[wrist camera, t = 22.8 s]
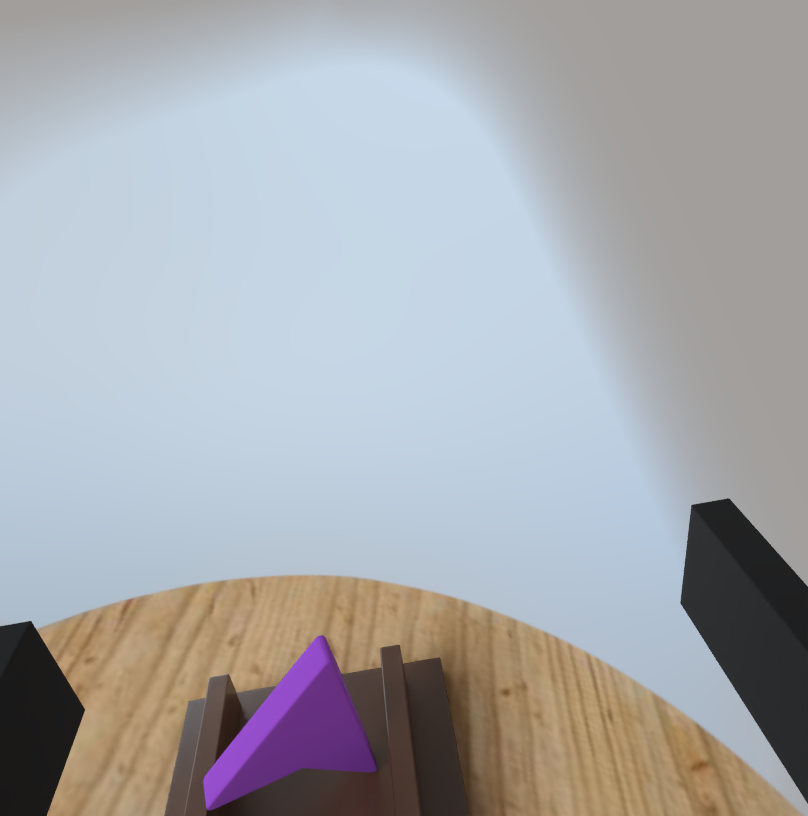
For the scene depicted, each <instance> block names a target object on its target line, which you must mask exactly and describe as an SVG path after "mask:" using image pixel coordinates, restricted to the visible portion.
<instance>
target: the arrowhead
mask: <svg viewBox="0 0 808 816" xmlns="http://www.w3.org/2000/svg"><path fill="white" fill-rule="evenodd" d="M302 768H309V769H324V770H339V771H355V772H375V771H377V769H378V767H377V763H376V760H375V757H374V754H373V751H372V748H371V745H370V743H369V740H368V737H367V735H366V732H365V730H364V727H363V725H362V723H361V720H360V718H359V715H358V713H357V710H356V708H355V706H354V703H353V701H352V698H351V696H350V694H349V691H348V689H347V686H346V684H345V682H344V679H343V677H342V674H341V672H340V670H339V667H338V665H337V663H336V660H335V658H334V656H333V653H332V651H331V649H330V646H329V644H328V642H327V640H326V638H325V636H322V635H321V636H318V637H317V638H316V639H315V640H314V641H313V642H312V643H311V645H310V646H309V647H308V648H307V649H306V651H305V652H304V653H303V654H302V656H301V657H300V658H299V659H298V661H297V662H296V663H295V664H294V665H293V667H292V668H291V669H290V670H289V672H288V673H287V674H286V675H285V677H284V678H283V679H282V680H281V682H280V683H279V684H278V685H277V687H276V688H275V689H274V690H273V692H272V693H271V694H270V695H269V696H268V698H267V699H266V700H265V701H264V703H263V704H262V705H261V706H260V708H259V709H258V710H257V711H256V713H255V714H254V715H253V716H252V718H251V719H250V720H249V721H248V723H247V724H246V725H245V726H244V728H243V729H242V730H241V731H240V733H239V734H238V735H237V736H236V738H235V739H234V740H233V741H232V743H231V744H230V745H229V746H228V748H227V749H226V750H225V751H224V753H223V754H222V755H221V756H220V758H219V759H218V760H217V761H216V763H215V764H214V765H213V767H212V768H211V769H210V770H209V772H208V773H207V774H206V776H205V777H204V781H203V782H204V792H205V801H206V808H207V810H213V809H216V808H218V807H220V806H222V805H225V804H227V803H229V802H231V801H233V800H235V799H238V798H240V797H242V796H244V795H246V794H248V793H250V792H253V791H255V790H257V789H259V788H261V787H263V786H265V785H268V784H270V783H272V782H274V781H276V780H278V779H280V778H283V777H285V776H287V775H289V774H291V773H293V772H295V771H298V770H300V769H302Z"/></svg>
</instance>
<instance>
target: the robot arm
mask: <svg viewBox="0 0 808 816" xmlns="http://www.w3.org/2000/svg"><path fill="white" fill-rule="evenodd" d="M681 605H682V606H683V608H684V609H685V611H686V613H687V614H688V616H689V617H690V619H691V620H692V622H693V623H694V625H695V626H696V628H697V630H698V631H699V633H700V635H701V636H702V638H703V639H704V641H705V642H706V644H707V645H708V647H709V649H710V650H711V652H712V654H713V655H714V657H715V658H716V660H717V661H718V663H719V665H720V666H721V668H722V669H723V671H724V672H725V674H726V675H727V677H728V679H729V680H730V682H731V683H732V685H733V687H734V688H735V690H736V691H737V693H738V694H739V696H740V698H741V699H742V701H743V702H744V704H745V705H746V707H747V709H748V710H749V712H750V713H751V715H752V716H753V718H754V720H755V721H756V723H757V724H758V726H759V727H760V729H761V731H762V732H763V734H764V735H765V737H766V739H767V740H768V741H769V743H770V745H771V746H772V748H773V749H774V751H775V753H776V754H777V756H778V757H779V759H780V760H781V762H782V764H783V765H784V767H785V768H786V770H787V771H788V773H789V775H790V776H791V778H792V779H793V781H794V782H795V784H796V786H797V787H798V789H799V790H800V792H801V793H802V795H803V797H804V798H805V800H806V801H807V803H808V587H807V585H806V584H805V583H804V582H803V581H802V580H801V579H800V577H798V575H797V574H796V573H795V572H794V571H793V570H792V569H791V567H790V566H789V565H788V564H787V563H786V562H785V561H784V560H783V558H782V557H781V556H780V555H779V554H778V553H777V552H776V551H775V550H774V548H773V547H772V546H771V545H770V544H769V543H768V542H767V540H766V539H765V538H764V537H763V536H762V535H761V534H760V533H759V531H758V530H757V529H756V528H755V527H754V526H753V525H752V524H751V523H750V521H749V520H748V519H747V518H746V517H745V516H744V515H743V514H742V512H741V511H740V510H739V509H738V508H737V507H736V506H735V505H734V503H733V502H732V501H731V500H730V499H724V500H717V501H712V502H706V503H700V504H695V505H692V506H691V515H690V523H689V532H688V541H687V550H686V559H685V567H684V577H683V585H682V594H681ZM84 712H85V709H84V707H83V706H82V704H81V702H80V701H79V699H78V697H77V696H76V694H75V692H74V691H73V689H72V687H71V686H70V684H69V683H68V681H67V679H66V678H65V676H64V674H63V673H62V671H61V669H60V668H59V666H58V665H57V663H56V661H55V660H54V658H53V656H52V655H51V653H50V651H49V650H48V648H47V646H46V645H45V643H44V642H43V640H42V638H41V637H40V635H39V633H38V632H37V630H36V628H35V627H34V625H33V624H32V622H31V621H28V622H23V623H17V624H12V625H6V626H0V816H47V813H48V810H49V808H50V805H51V802H52V799H53V797H54V794H55V791H56V788H57V786H58V783H59V780H60V777H61V775H62V772H63V769H64V766H65V764H66V761H67V758H68V755H69V753H70V750H71V747H72V744H73V742H74V739H75V736H76V734H77V731H78V728H79V725H80V723H81V720H82V717H83V714H84Z"/></svg>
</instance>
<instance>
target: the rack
mask: <svg viewBox="0 0 808 816" xmlns="http://www.w3.org/2000/svg"><path fill="white" fill-rule="evenodd" d="M380 654H381V666H382V668H376V669H370V670H365V671H359V672H353V673H347V674H342V677H343V679H344V682H345V684H346V686H347V689H348V691H349V694H350V696H351V698H352V701H353V703H354V706H355V708H356V710H357V713H358V715H359V718H360V720H361V723H362V725H363V727H364V730H365V732H366V735H367V737H368V740H369V743H370V745H371V748H372V751H373V754H374V757H375V760H376V763H377V767H378V769H377V771H375V772H355V771H339V770H324V769H309V768H302V769H300V770H298V771H295V772H293V773H291V774H289V775H287V776H285V777H283V778H280V779H278V780H276V781H274V782H272V783H270V784H268V785H265V786H263V787H261V788H259V789H257V790H255V791H253V792H250V793H248V794H246V795H244V796H242V797H240V798H238V799H235V800H233V801H231V802H229V803H227V804H225V805H222V806H220V807H218V808H216V809H213V810H207V808H206V801H205V792H204V782H203V781H204V777H205V776H206V774H207V773H208V772H209V770H210V769H211V768H212V767H213V765H214V764H215V763H216V761H217V760H218V759H219V758H220V756H221V755H222V754H223V753H224V751H225V750H226V749H227V748H228V746H229V745H230V744H231V743H232V741H233V740H234V739H235V738H236V736H237V735H238V734H239V733H240V731H241V730H242V729H243V728H244V726H245V725H246V724H247V723H248V721H249V720H250V719H251V718H252V716H253V715H254V714H255V713H256V711H257V710H258V709H259V708H260V706H261V705H262V704H263V703H264V701H265V700H266V699H267V698H268V696H269V695H270V694H271V693H272V692H273V690H274V689H275V688H276V687H277V686H273V687H267V688H261V689H256V690H250V691H244V692H238V693H236V691H235V688H234V686H233V683H232V681H231V678H230V676H229V674H226V675H221V676H215V677H210V678H209V683H208V689H207V694H206V698H204V699H198V700H193V701H189V702H188V707H187V711H186V716H185V721H184V726H183V730H182V735H181V740H180V744H179V749H178V754H177V759H176V763H175V768H174V773H173V777H172V782H171V787H170V792H169V796H168V801H167V806H166V811H165V815H164V816H469V810H468V805H467V799H466V794H465V789H464V783H463V778H462V772H461V767H460V762H459V756H458V751H457V746H456V740H455V735H454V729H453V724H452V719H451V713H450V708H449V702H448V697H447V692H446V686H445V681H444V675H443V670H442V665H441V659H440V658H433V659H428V660H422V661H416V662H410V663H405V664H403V659H402V654H401V649H400V645H394V646H388V647H382V648H380Z"/></svg>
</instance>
